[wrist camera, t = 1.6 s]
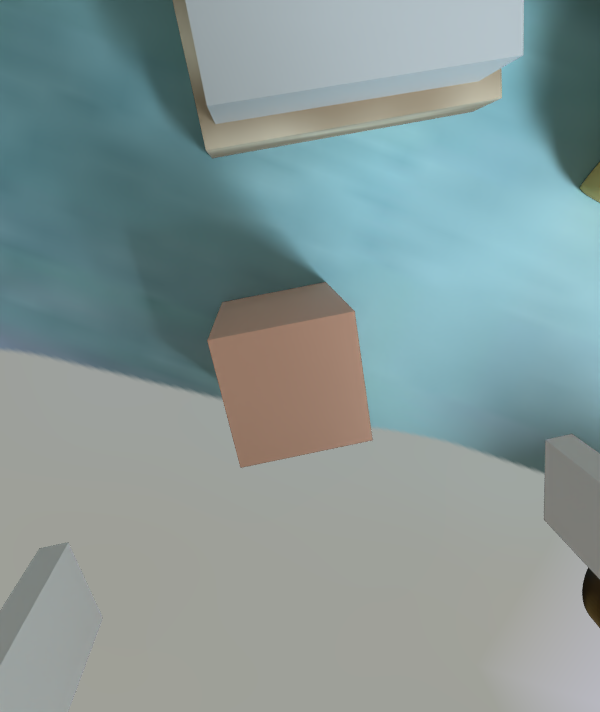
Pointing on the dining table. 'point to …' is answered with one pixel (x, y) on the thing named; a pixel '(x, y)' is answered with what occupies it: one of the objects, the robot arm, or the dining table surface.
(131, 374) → the dining table surface
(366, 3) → the tower top
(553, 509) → the robot arm
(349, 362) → the terracotta block
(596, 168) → the cheese
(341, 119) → the tower base
